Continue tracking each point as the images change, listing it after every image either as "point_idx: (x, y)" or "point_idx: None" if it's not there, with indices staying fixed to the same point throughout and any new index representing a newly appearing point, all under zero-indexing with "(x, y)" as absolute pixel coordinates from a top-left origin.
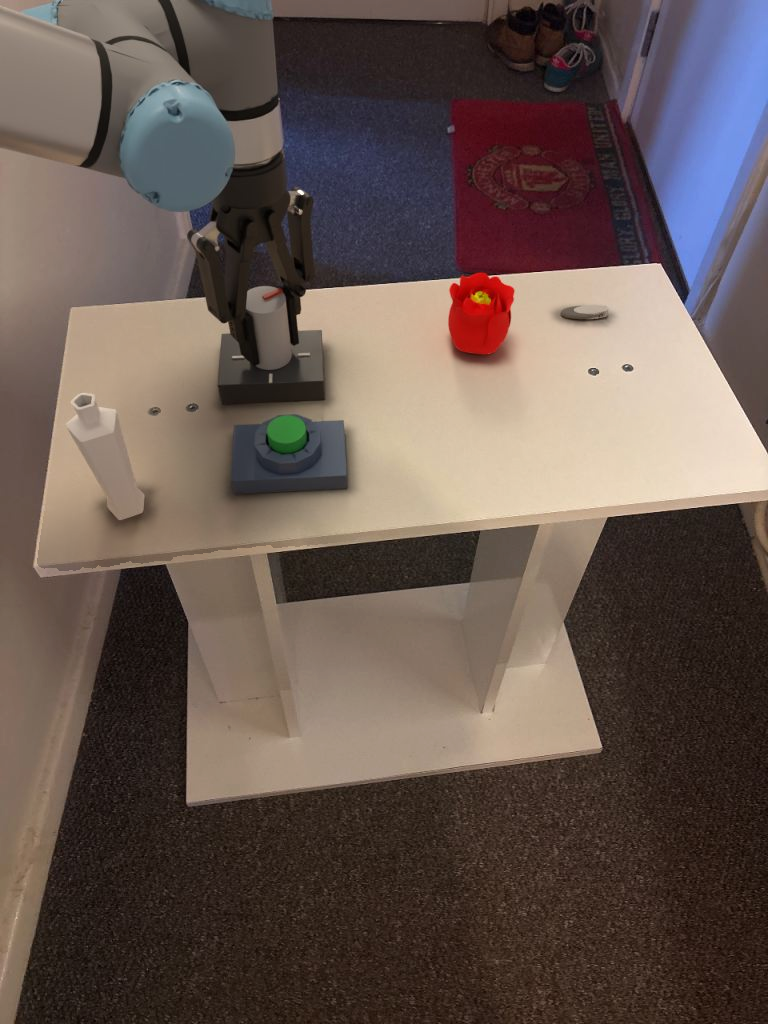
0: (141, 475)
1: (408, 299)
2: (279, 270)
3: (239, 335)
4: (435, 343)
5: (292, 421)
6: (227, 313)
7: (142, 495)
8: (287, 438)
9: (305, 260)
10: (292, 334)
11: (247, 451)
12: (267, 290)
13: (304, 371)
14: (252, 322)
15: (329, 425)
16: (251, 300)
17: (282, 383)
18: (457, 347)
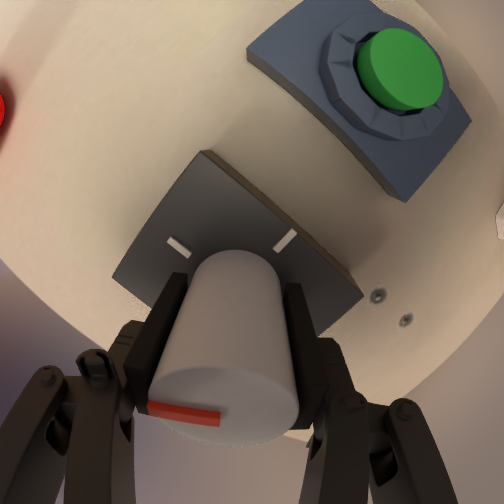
0: (481, 242)
1: (5, 248)
2: (126, 466)
3: (333, 355)
4: (14, 151)
5: (388, 66)
6: (401, 424)
7: (501, 213)
8: (422, 50)
9: (25, 436)
10: (179, 291)
11: (430, 137)
12: (185, 425)
13: (212, 205)
14: (306, 370)
15: (279, 56)
16: (255, 428)
17: (274, 212)
18: (1, 107)
